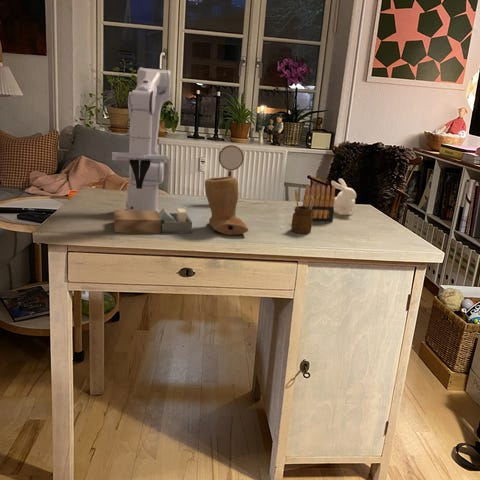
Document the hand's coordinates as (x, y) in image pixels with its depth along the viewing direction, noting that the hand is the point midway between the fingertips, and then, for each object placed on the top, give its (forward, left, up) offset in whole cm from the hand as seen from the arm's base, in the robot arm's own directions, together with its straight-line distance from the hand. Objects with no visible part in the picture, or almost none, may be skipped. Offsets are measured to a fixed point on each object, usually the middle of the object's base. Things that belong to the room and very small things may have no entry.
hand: (138, 188), depth 138 cm
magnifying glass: (+33, +32, -11) cm, 48 cm away
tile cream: (+11, -3, -8) cm, 13 cm away
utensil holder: (+47, -4, -11) cm, 48 cm away
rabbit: (+72, +20, -11) cm, 76 cm away
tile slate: (+7, -3, -8) cm, 11 cm away
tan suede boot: (+24, -3, -11) cm, 26 cm away
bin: (+10, -3, -10) cm, 15 cm away
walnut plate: (0, -3, -10) cm, 11 cm away
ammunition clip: (+57, +8, -11) cm, 59 cm away
